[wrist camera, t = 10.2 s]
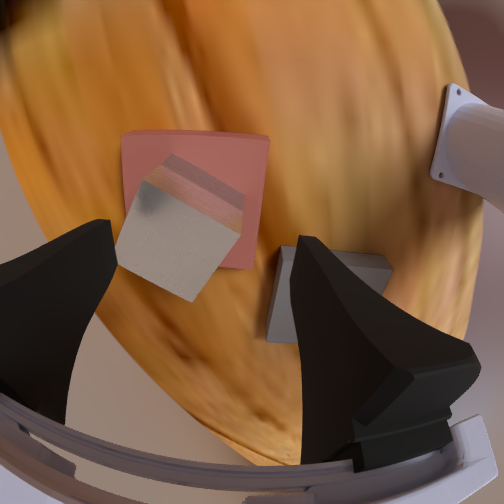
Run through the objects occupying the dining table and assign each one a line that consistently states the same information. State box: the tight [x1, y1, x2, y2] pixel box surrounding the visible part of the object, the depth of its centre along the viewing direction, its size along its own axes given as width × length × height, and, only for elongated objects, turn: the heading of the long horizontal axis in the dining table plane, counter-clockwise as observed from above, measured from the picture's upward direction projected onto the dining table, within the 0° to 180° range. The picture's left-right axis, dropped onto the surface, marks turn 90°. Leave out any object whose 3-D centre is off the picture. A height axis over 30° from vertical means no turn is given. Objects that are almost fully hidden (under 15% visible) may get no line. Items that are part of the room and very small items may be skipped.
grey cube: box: [115, 154, 244, 303], centre depth 15 cm, size 5×5×5 cm
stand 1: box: [121, 130, 270, 270], centre depth 18 cm, size 9×9×2 cm
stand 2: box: [265, 246, 393, 343], centre depth 23 cm, size 9×9×2 cm
